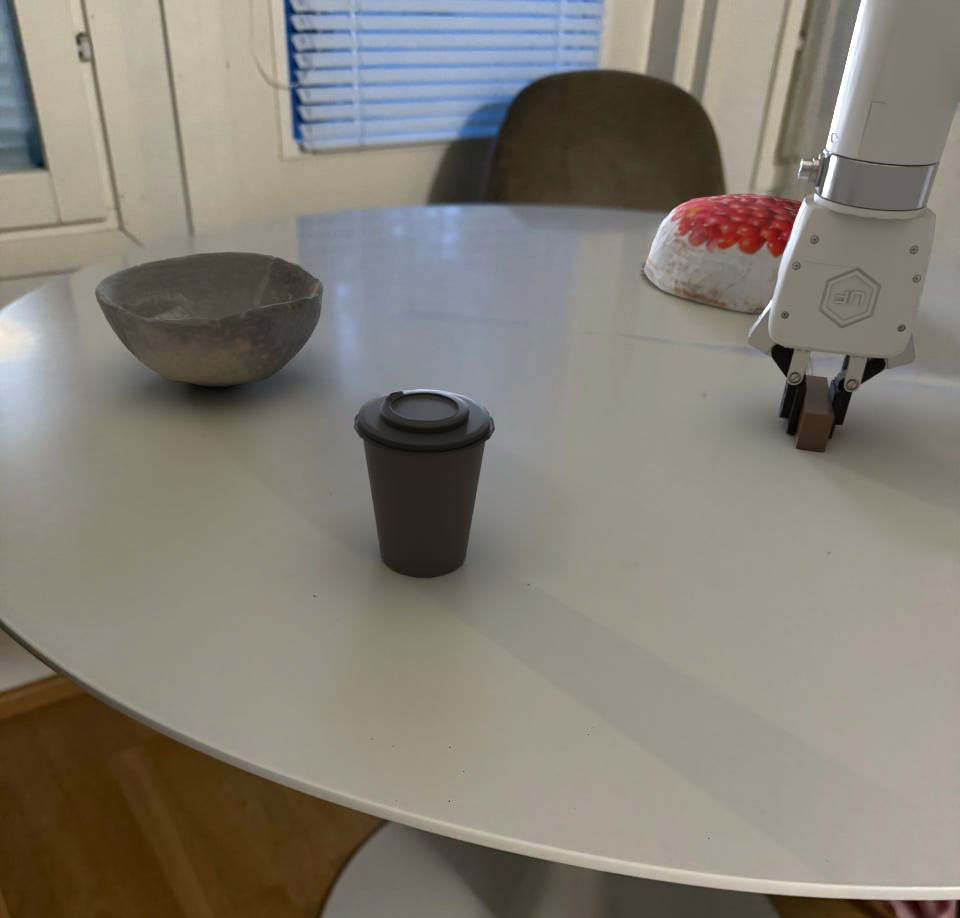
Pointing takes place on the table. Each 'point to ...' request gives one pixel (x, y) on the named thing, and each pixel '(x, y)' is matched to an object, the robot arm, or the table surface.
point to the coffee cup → (423, 475)
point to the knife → (814, 414)
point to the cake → (723, 249)
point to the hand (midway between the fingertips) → (807, 427)
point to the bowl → (213, 315)
